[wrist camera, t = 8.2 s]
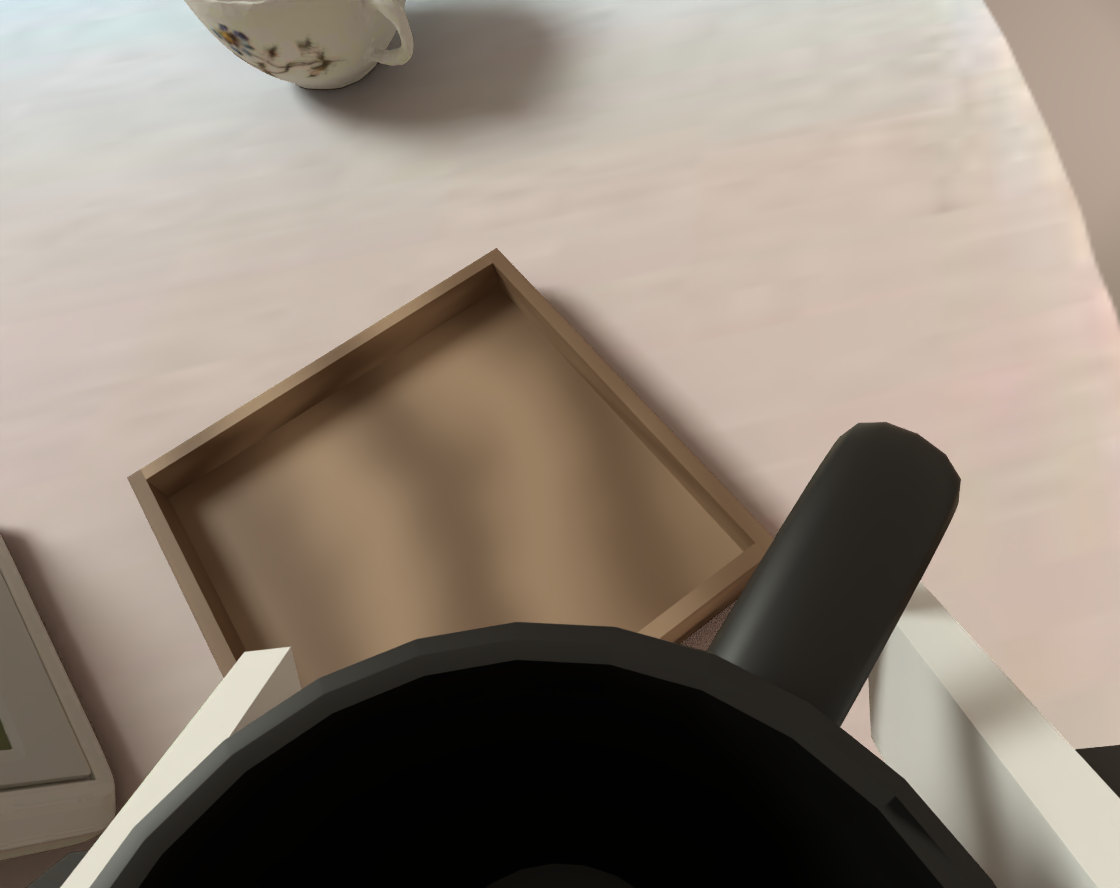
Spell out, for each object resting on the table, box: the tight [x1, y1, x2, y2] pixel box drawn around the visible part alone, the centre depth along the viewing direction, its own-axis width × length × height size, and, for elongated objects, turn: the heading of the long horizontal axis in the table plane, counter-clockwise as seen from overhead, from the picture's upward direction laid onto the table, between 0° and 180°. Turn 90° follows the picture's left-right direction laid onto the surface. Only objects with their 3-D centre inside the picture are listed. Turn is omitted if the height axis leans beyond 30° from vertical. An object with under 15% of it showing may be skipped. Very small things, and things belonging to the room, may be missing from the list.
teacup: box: [184, 0, 414, 89], centre depth 45 cm, size 15×12×8 cm
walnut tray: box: [127, 248, 774, 689], centre depth 32 cm, size 18×18×2 cm
